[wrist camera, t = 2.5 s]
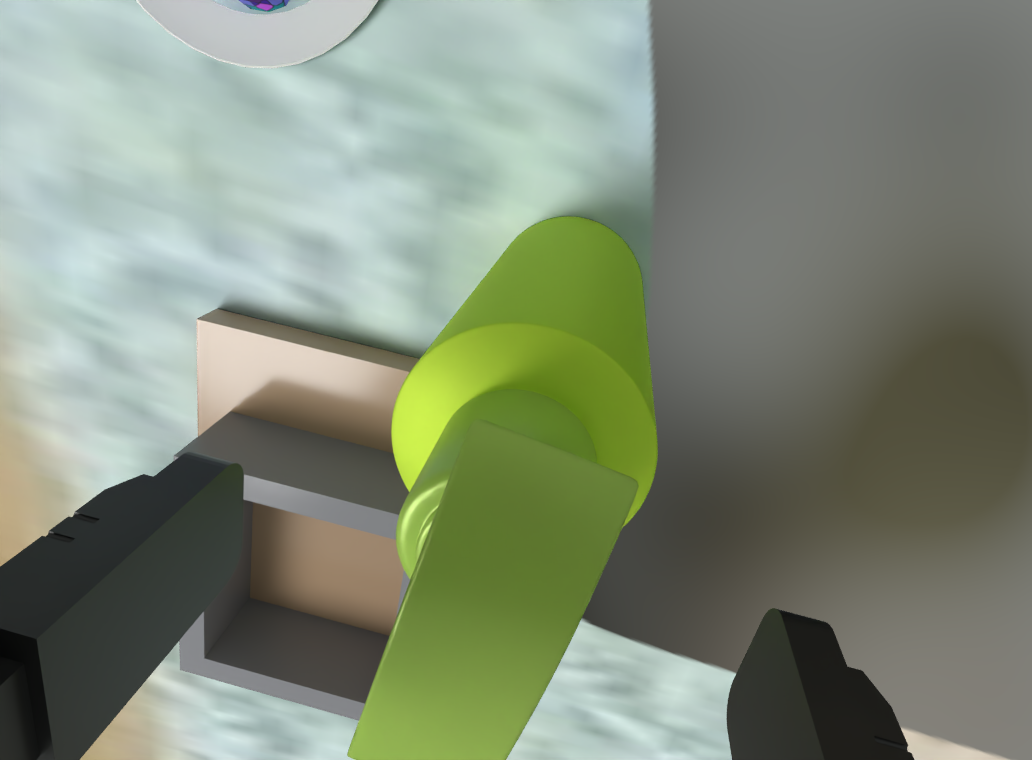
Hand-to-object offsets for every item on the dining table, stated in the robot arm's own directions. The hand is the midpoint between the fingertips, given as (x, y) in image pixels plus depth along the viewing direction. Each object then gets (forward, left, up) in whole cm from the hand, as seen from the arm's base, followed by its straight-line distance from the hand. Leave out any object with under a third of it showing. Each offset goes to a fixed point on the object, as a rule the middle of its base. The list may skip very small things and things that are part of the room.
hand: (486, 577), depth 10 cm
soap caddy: (+15, -8, -18) cm, 25 cm away
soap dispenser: (0, 0, -18) cm, 18 cm away
